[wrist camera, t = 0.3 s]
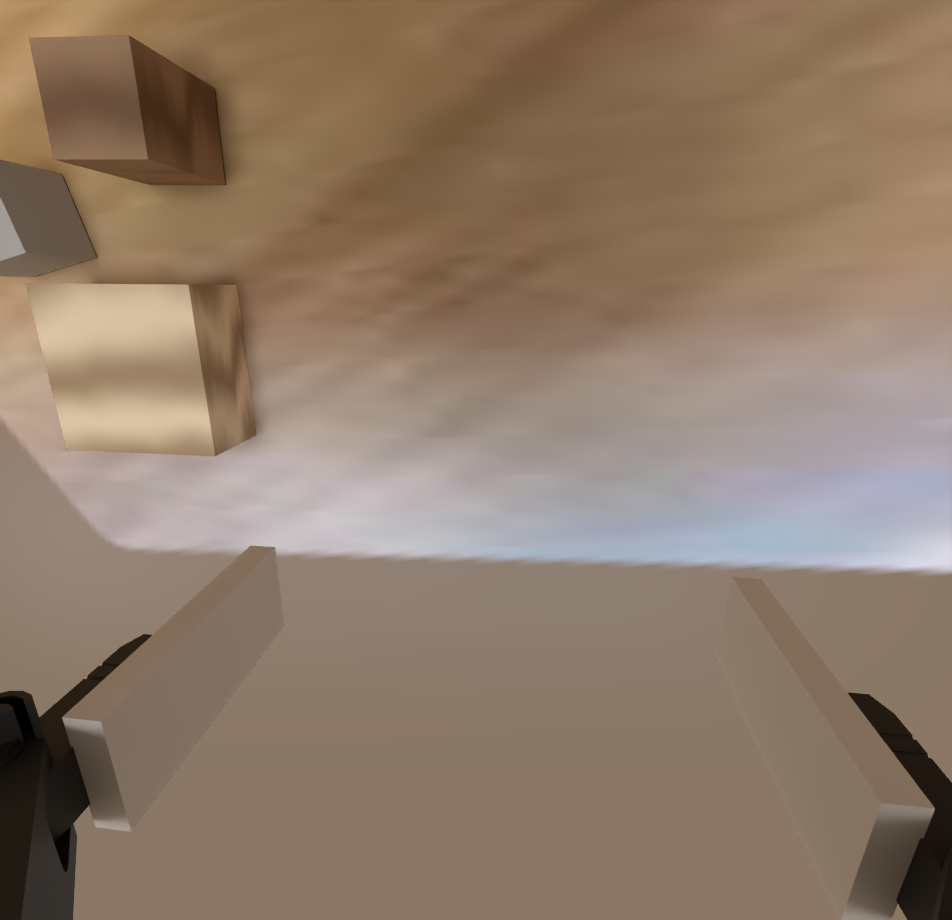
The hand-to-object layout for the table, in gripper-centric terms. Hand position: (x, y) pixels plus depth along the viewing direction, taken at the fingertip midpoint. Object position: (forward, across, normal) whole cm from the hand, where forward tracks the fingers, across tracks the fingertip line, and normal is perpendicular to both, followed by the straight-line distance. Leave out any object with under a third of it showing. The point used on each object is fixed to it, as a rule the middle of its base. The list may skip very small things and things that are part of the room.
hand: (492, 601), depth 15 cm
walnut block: (+27, -25, +18) cm, 41 cm away
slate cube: (+27, -37, +13) cm, 48 cm away
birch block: (+27, -28, +2) cm, 39 cm away
